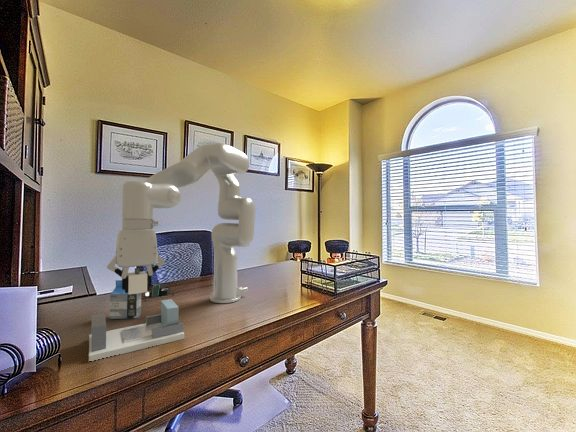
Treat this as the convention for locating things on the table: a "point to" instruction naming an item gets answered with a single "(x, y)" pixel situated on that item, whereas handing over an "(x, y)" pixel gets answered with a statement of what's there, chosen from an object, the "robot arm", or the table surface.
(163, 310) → the block
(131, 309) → the label tape box
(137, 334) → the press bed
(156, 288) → the dark green piece
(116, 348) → the base
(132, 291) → the block
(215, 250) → the robot arm
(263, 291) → the table surface
